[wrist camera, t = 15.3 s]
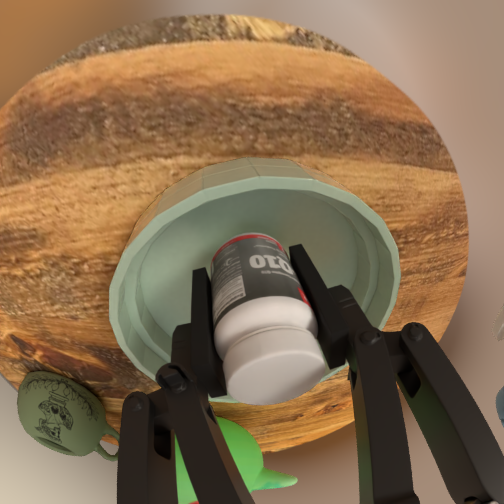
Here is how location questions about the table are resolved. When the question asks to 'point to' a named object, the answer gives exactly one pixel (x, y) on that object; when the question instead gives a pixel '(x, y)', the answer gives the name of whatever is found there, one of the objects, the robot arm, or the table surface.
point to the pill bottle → (262, 322)
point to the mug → (63, 415)
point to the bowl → (238, 222)
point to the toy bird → (246, 462)
